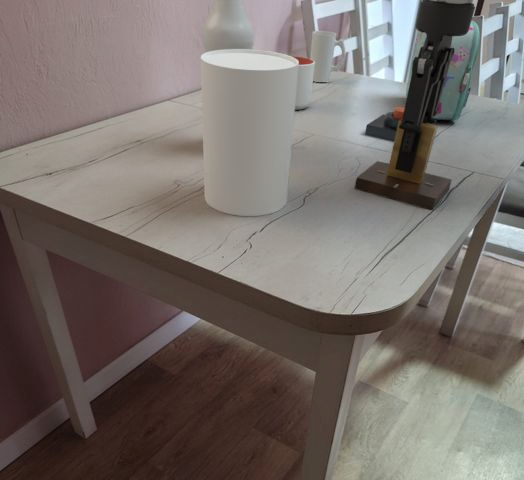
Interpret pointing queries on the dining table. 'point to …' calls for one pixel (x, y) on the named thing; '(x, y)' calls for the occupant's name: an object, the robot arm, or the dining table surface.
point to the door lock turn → (421, 154)
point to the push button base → (383, 127)
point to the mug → (325, 54)
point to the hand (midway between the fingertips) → (407, 166)
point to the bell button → (398, 112)
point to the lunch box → (454, 72)
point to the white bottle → (227, 27)
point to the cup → (304, 82)
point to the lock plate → (403, 186)
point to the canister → (247, 129)
